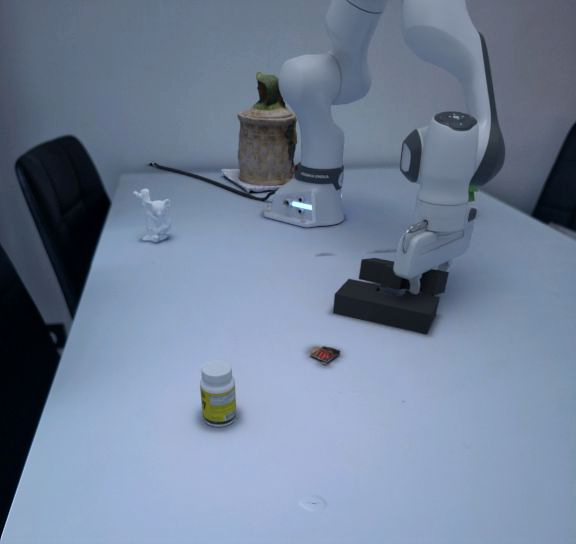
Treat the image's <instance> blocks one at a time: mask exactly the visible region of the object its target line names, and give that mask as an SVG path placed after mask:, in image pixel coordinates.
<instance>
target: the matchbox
mask: <svg viewBox="0 0 576 544" xmlns="http://www.w3.org/2000/svg"><path fill="white" fill-rule="evenodd" d="M339 354H341V350H339V349H337V348H334V347H332V346H325V345H322V346H314V347H312V348H311V350H310V353H309V355H310V356H312V357H314V358H316V359H318V360H322V361H321V364H322V365H327V366H328V362H330V361H331V360H333V359H335V358H336V357H337V356H338V355H339Z"/></svg>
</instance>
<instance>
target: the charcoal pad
mask: <svg viewBox="0 0 576 544" xmlns="http://www.w3.org/2000/svg"><path fill="white" fill-rule="evenodd" d="M380 287H381V286H380V284H378V283H374V282H369V281H364V280H359V279H353V278H352V279H351V278H348V279H347V280H346V281H345V282H344V283H343V284H342V285H341V286H340V288H339V289H338V290H337V291H336V292H335V293H334V295H333V296H334V297H333V310H332V313H333V314H336V315H340V316H345V317H349V318H354V319H357V320H362V321H367V322H371V323H375V324H379V325H384V326H388V327H393V328H397V329H401V330H407V331H409V332H415V333H419V334H424V335H427V334H428V333H429V330H430V328H431V327H432V325H433V323H434V322H435V321H434V320H435V318H436V316H437V313H438V309H439V304H440V298H441V297H440V296H439V295H435V296H433V295H428V294H424V293H419V294H417V295H415V294H413V293H410V290H404V293H403V294H402V295H399V294H393V293H388V292H384V291H380Z"/></svg>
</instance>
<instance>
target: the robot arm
mask: <svg viewBox="0 0 576 544" xmlns="http://www.w3.org/2000/svg"><path fill="white" fill-rule="evenodd" d="M388 2H389V0H331V2H330V5H329V7H328V10H327V13H326V16H325V20H324V24H325V30H326V34H327V36H328V38H329V39H330V40H331V41H332V43H331V45H330V49H329V51H327V52H326V53H318V54H317V53H315V54H302V55H298V56H295V57H292V58H289V59H287V60H285V62H283V64H282V65H281V67H280V70H279V74H278V84H279V90H280V93H281V96H282V98H283V100H284V102H285V104H287V105H288V106H289V107H290V108H291V110H292V111H293V113H294V114H295V116H296V119H297V122H298V126H299V131H300V161H299V162H297V164H294V165H295V166H294V167H293V168H292V169H293V170H292V172H294V177H293V178H292V179H291V180H289V181H288V182H287V183H285V184H284V185H283V186H282V187H280V188H278V189H275V190H270V191H269V192H268V193H267V194H266V195H265V196H264V197H258V196H255V195H252V194H250V193H248V192H246V191H245V192H244V191H242V190H239V189H237V188H234V187H232V186H229V185H227V184H224V183H221V182H219V181H217V180H214V179H210V178H208V177H205V176H202V175H199V174H195V173H192V172H189V171H185V170H181V169H177V168H174V167H169V166H164V165H161V164H158V163H157V162H155V163H154V164H152V163H151V162H149V164H148V166H150V167H152V166H155V167H156V168H158V169H163V170H166V171H170V172H175V173H178V174H181V175H186V176H189V177H192V178H196V179H199V180H202V181H205V182H208V183H210V184H212V185H216V186H219V187H221V188H224V189H225V190H228V191H231V192H233V193H236V194H238V195H241V196H244V197H247V198H250V199H252V200H255V201H259V202H264V201H268V199H270V197H272V196H273V198H272V202H271V205H269V206H268V207H266V208H265V209H264V211H263V217H264V218H267V219H270V220H274V221H279V222H282V223H286V224H291V225H294V226H298V227H302V228H314V227H324V226H325V227H326V226H333V225H337V224H340V223H342V222H343V221H344V220H345V215H344V209H343V199H342V198H343V195H342V188H343V185H344V177H345V173H344V169H345V166H344V163H343V162H344V149H345V148H344V147H345V132H344V131H343V128H341V127H340V126H339V125H338V124H337V123H336V122H334V119H333V115H332V106H341V105H349V104H352V103H354V102H358V101H360V100H362V99H363V98H365V97H366V96H367V95H368V93H369V91H370V89H371V86H372V82H373V73H372V68H371V66H370V63H369V61H368V52H369V48H370V43H371V41H372V39H373V35H374V34H375V31H376V29H377V27H378V24H379V22H380V20H381V18H382V16H383V14H384V12H385V9H386V7H387V4H388ZM400 23H401V24H400V25H401V26H400V27H401V33H402V37H403V41H404V43H405V45H406V47H407V48H408V49H409V51H410V52H411V53H412V54H414V55H415V56H416V57H417V58H419V59H421V60H422V61H424V62H426V63H428V64H432V65H434V66H437V67H439V68H440V69H443V70H445V71H447V72H448V73H449V74H451V75H452V76H453V77H455V78H456V79H457V80H458V82H459V83H460V84H461V87H462V90H463V95H464V102H465V109H466V113H465V112H461V111H454V110H447V111H441V112H438V113H436V114H434V115H433V116H432V117H431V119H430V122H429V124H428V125H425V126H422V127H420V128H414V129H413V130H412V131H411V132H410V133H409V134H408V135H407V136H406V137H405V138H404V140H403V141H402V144H401V150H400V151H401V152H400V160H399V171H400V173H401V174H402V176H404V178H405V179H407V181H409V182H410V183H412V184H413V183H414V184H418V185H419V189H418V192H417V194H416V200H415V206H414V214H413V221H412V223H413V224H411V225H409V226H408V227H407V230H406V231H405V233H403V234H402V235H401V237H400V238H399V241H398V244H397V248H396V253H395V255H394V256H395V257H394V260H393V261H394V267H393V270H394V273H395V275H397V276H399V277H402V278H405V279H409V282H410V290H409V291H410V293H413V294H415V295H417V294H419V293H420V292H422V287H423V284H420V278H421V277H422V274H423V273H425V272H427V271H429V270H431V269H435V268H437V270H440V271H445V272H449V270H450V268H451V266H452V264H453V260H454V259H457V258H458V257H460V256H463V255H464V254H465V253H467V250H468V249H469V246H470V244H471V240H472V236H473V233H474V232H473V231H474V227H475V220H477V218H478V215H479V210H480V208H479V207H477V206H474V205H471V204H468V203H469V202H468V199H469V194H468V187H469V185H472V186H477V187H483V186H485V185H486V184H488V183H489V182H491V181H492V180H493V179H495V177H496V176H497V175H498V174H499V173H500V172H501V170H502V168H503V166H504V163H505V161H506V160H505V159H506V142H505V139H504V135H503V133H502V130H501V126H500V121H499V117H498V111H497V104H496V103H497V102H496V97H495V90H494V83H493V76H492V69H491V64H490V63H491V62H490V57H489V51H488V47H487V43H486V39H485V36H484V35H483V34H482V32H480V31H479V30H477V28H476V27H475V25H474V24H473V22H472V19H471V16H470V15H469V11H468V7H467V2H466V0H400Z"/></svg>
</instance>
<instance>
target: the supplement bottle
mask: <svg viewBox="0 0 576 544" xmlns="http://www.w3.org/2000/svg"><path fill="white" fill-rule="evenodd" d="M200 371H201V372H200V373H201V378H200V380H199V390H200V391H199V392H200V399H201V401H200V402H201V410H202V411H201V412H202V419H203V420H204V422H205V423H206V424H207V425H209V426H212V427H215V428H218V427H219V428H220V427H221V428H222V427H226V426H229V425H231V424H232V423H233V422H235V420H236V418H237V413H238V412H237V395H236V394H237V393H236V380H235V377H234V376H233V367H232V365H231V363H230V362H229V361H226V360H223V359H211V360H207V361H206V362H204V363H203V364H202V366H201V369H200Z"/></svg>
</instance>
